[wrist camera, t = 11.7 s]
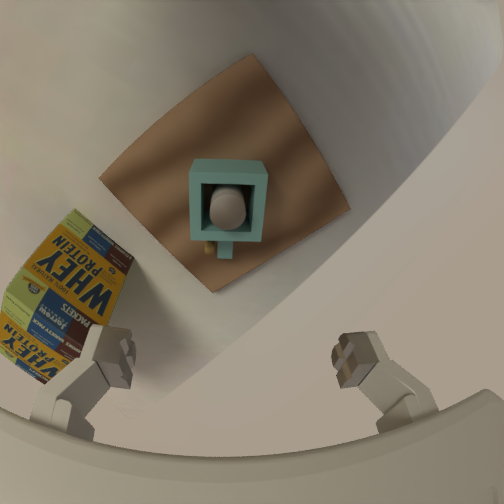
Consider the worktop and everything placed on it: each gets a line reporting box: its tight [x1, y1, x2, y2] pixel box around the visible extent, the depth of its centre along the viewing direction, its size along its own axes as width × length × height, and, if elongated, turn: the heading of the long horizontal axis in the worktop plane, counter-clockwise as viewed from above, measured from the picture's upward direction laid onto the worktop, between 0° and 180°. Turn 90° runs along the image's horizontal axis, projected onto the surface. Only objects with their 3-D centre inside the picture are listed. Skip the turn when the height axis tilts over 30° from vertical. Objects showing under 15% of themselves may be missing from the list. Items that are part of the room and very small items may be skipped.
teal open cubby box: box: [189, 159, 268, 259], centre depth 27 cm, size 10×7×5 cm, turn 176°
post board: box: [99, 53, 350, 293], centre depth 26 cm, size 20×20×7 cm
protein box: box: [0, 209, 134, 385], centre depth 26 cm, size 10×15×16 cm
